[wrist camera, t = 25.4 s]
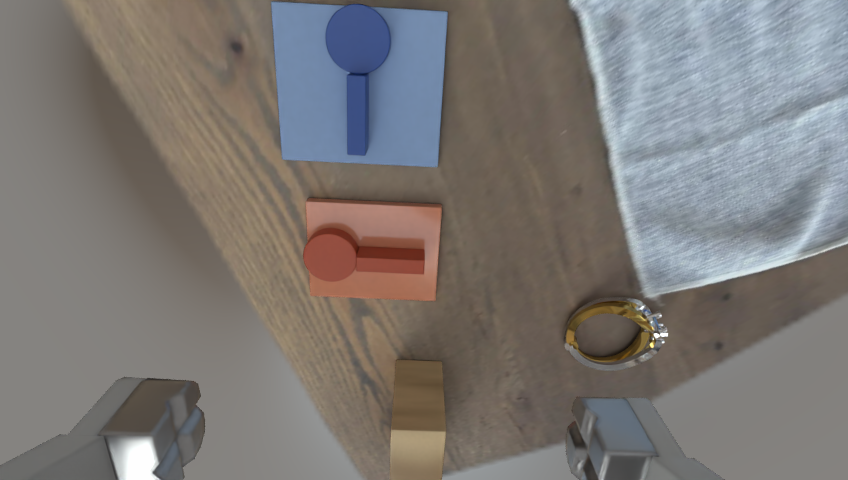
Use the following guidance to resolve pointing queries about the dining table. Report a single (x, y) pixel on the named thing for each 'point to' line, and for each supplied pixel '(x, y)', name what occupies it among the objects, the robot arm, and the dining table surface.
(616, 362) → the ring
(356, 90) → the blue spoon
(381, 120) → the blue tile
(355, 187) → the dining table surface
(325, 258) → the terracotta spoon
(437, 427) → the spoon stand
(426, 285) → the terracotta tile
